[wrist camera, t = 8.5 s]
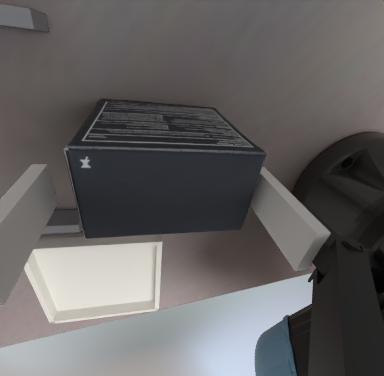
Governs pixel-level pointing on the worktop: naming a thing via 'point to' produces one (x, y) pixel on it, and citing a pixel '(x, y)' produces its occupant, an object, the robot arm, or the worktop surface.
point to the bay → (37, 21)
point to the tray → (95, 275)
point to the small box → (160, 170)
